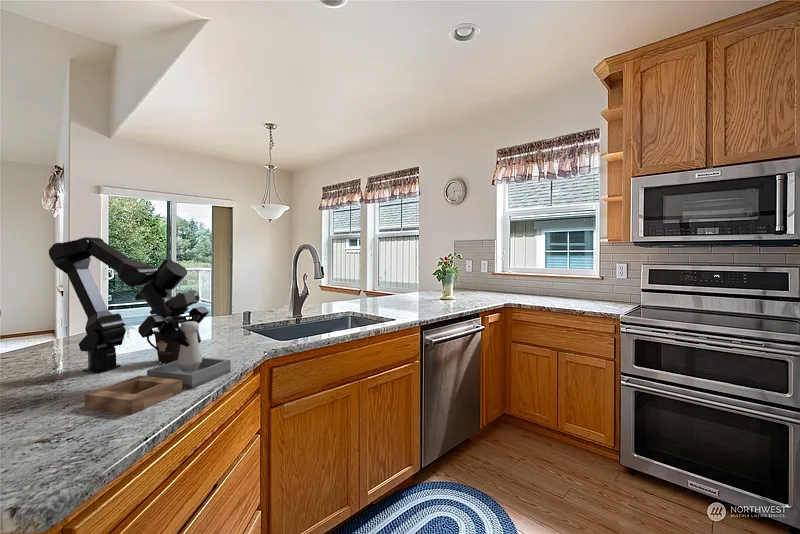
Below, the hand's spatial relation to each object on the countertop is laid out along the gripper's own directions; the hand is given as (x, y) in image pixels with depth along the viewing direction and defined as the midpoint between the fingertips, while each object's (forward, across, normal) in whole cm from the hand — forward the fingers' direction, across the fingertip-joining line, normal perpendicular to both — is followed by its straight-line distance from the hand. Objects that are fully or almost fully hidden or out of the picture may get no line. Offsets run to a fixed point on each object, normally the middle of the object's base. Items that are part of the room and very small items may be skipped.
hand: (194, 344), depth 102 cm
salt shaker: (+4, 0, +6) cm, 7 cm away
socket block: (+6, -16, +7) cm, 19 cm away
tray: (+6, 0, +7) cm, 9 cm away
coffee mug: (-8, +12, +22) cm, 26 cm away
